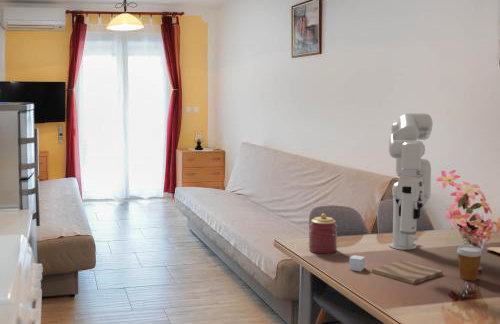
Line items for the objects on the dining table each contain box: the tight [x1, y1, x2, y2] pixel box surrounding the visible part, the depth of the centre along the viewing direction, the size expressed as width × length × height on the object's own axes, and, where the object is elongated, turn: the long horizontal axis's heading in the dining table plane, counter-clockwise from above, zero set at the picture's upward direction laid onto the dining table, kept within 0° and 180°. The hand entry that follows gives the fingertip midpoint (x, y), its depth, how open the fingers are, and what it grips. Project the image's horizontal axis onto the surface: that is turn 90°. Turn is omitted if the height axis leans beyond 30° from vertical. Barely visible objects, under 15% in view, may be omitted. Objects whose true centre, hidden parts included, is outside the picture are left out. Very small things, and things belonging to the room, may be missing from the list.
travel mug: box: [400, 187, 418, 236], centre depth 239 cm, size 6×7×20 cm
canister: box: [308, 213, 338, 255], centre depth 276 cm, size 13×13×18 cm
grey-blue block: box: [348, 254, 366, 272], centre depth 248 cm, size 5×5×5 cm
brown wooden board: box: [371, 259, 444, 285], centre depth 242 cm, size 20×20×2 cm
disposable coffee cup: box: [456, 245, 483, 281], centre depth 236 cm, size 10×10×12 cm
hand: (409, 216), depth 239 cm, fingers closed on travel mug, 6 cm apart
